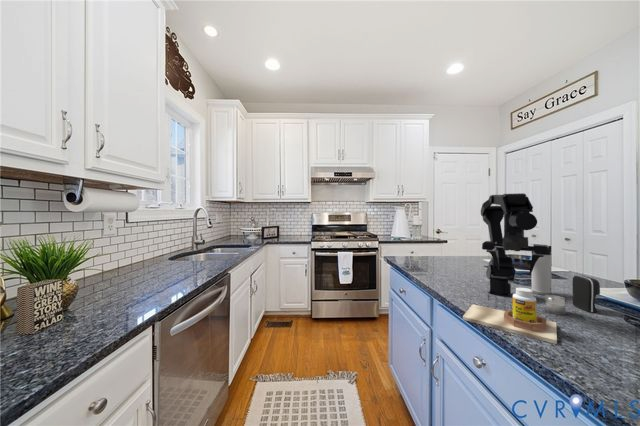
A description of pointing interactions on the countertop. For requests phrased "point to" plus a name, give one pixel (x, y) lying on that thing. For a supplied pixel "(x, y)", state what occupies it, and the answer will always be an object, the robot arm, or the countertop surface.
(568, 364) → the countertop surface
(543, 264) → the travel mug
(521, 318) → the supplement bottle
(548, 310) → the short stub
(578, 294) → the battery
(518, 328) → the holder board
